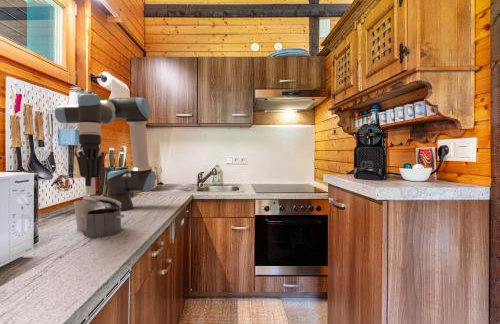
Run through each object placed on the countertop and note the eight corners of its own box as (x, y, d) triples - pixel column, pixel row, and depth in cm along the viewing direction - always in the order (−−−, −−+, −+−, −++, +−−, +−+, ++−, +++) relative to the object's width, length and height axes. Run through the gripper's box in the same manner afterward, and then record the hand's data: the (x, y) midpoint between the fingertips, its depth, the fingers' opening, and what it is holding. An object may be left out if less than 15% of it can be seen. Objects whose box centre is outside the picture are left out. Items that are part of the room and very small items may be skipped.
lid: (100, 207, 124) (102, 201, 125) (129, 208, 121) (131, 202, 122) (74, 196, 110) (76, 189, 111) (106, 197, 107) (108, 190, 108)
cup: (86, 231, 118) (85, 203, 118) (70, 230, 120) (69, 203, 119) (99, 226, 126) (99, 200, 125) (84, 225, 127) (83, 199, 127)
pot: (98, 226, 126) (97, 205, 125) (135, 228, 122) (134, 206, 121) (70, 236, 111) (70, 212, 111) (112, 238, 107) (111, 213, 107)
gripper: (94, 136, 116) (95, 192, 116) (67, 133, 103) (68, 196, 103) (110, 135, 115) (110, 192, 115) (85, 132, 102) (85, 196, 102)
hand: (90, 194), depth 109 cm, fingers closed
